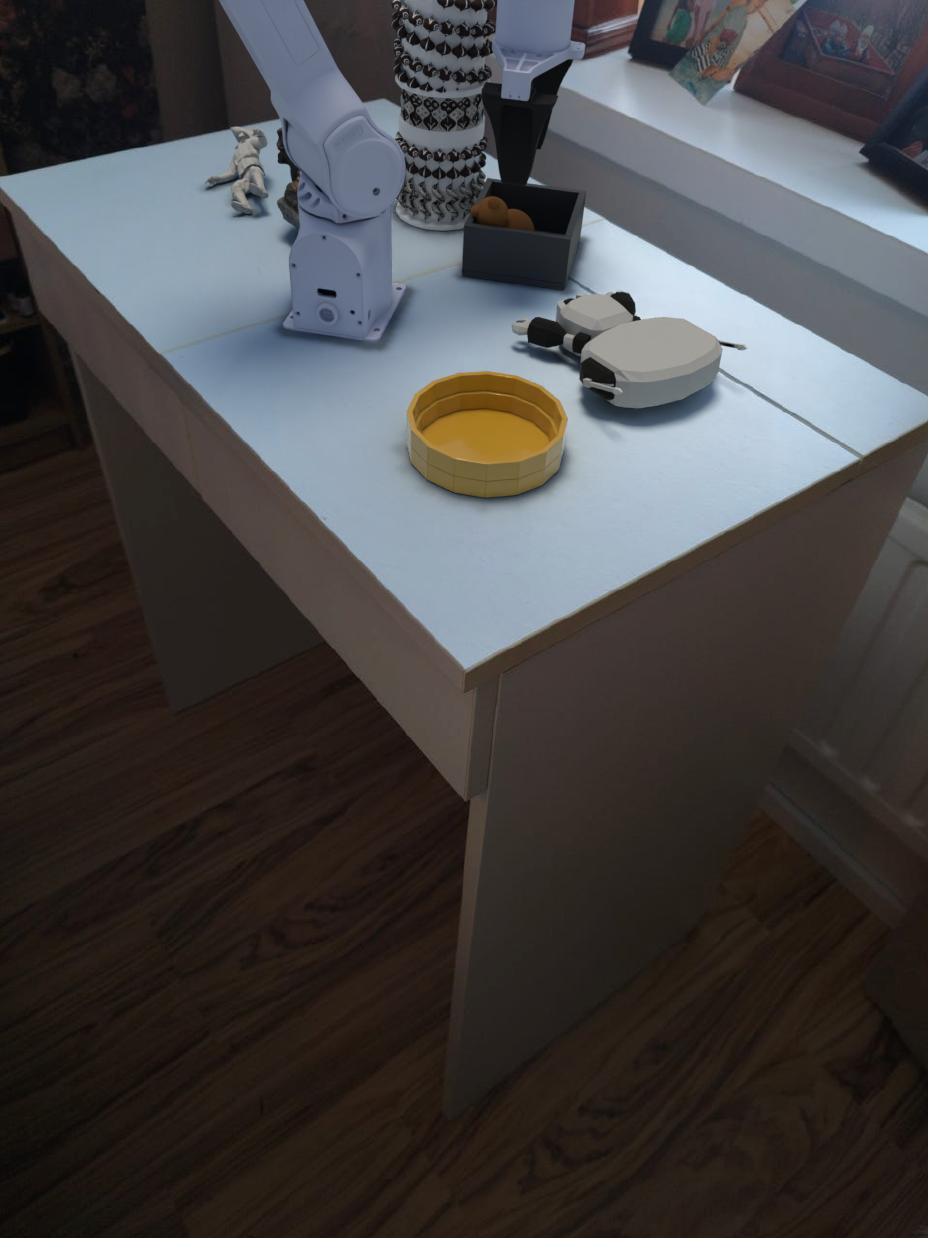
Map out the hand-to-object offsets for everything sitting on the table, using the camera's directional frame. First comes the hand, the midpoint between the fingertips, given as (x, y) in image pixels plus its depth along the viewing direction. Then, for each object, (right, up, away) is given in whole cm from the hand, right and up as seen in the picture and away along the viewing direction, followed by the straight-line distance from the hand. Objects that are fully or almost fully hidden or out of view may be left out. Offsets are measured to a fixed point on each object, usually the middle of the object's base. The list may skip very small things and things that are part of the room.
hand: (522, 163), depth 83 cm
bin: (+1, -5, +9) cm, 10 cm away
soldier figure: (-26, +5, +16) cm, 31 cm away
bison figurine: (-17, -4, +9) cm, 20 cm away
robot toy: (+7, -18, -4) cm, 20 cm away
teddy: (+1, -4, +8) cm, 9 cm away
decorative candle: (-7, +2, +15) cm, 16 cm away
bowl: (-3, -26, -12) cm, 29 cm away
